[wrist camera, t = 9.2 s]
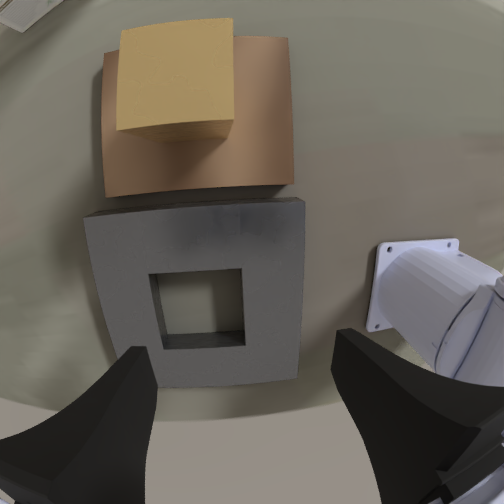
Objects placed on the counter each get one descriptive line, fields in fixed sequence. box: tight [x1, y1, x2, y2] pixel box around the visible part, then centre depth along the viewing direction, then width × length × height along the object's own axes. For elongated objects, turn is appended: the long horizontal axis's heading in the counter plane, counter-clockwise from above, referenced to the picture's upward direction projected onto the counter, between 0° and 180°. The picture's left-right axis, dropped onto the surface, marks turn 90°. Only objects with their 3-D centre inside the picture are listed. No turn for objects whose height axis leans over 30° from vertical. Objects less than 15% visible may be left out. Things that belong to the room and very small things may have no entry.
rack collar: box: [83, 197, 305, 388], centre depth 20 cm, size 14×14×2 cm
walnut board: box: [101, 36, 294, 198], centre depth 16 cm, size 12×10×1 cm
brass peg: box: [116, 18, 234, 143], centre depth 12 cm, size 4×4×8 cm
